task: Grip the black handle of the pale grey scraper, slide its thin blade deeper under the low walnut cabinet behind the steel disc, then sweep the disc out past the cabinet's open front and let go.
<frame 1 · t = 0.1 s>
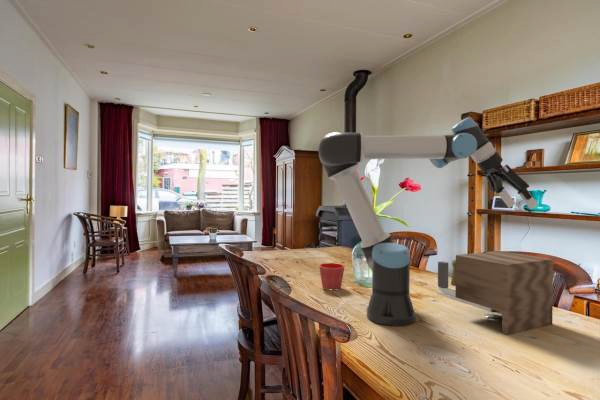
hand: (522, 206, 125), 36 cm above the table, tool tilted 35°, fingers open, 13 cm apart
flower pot: (331, 288, 152), on the table
walnut cabinet: (502, 319, 114), on the table
cork: (458, 285, 158), on the table
scraper: (464, 301, 133), on the table
steel disc: (493, 319, 115), on the table
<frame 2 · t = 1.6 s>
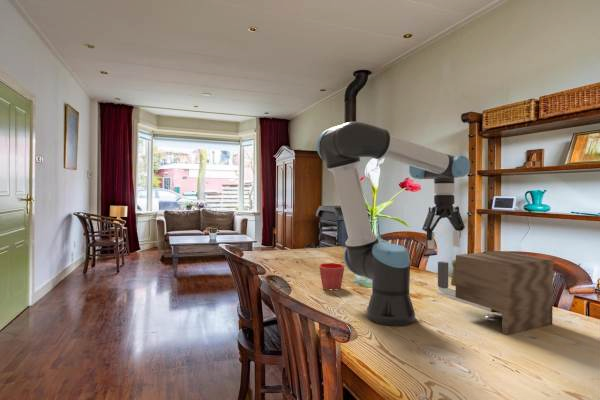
hand: (443, 247, 142), 19 cm above the table, tool pointing down, fingers open, 13 cm apart
nothing on the table moved.
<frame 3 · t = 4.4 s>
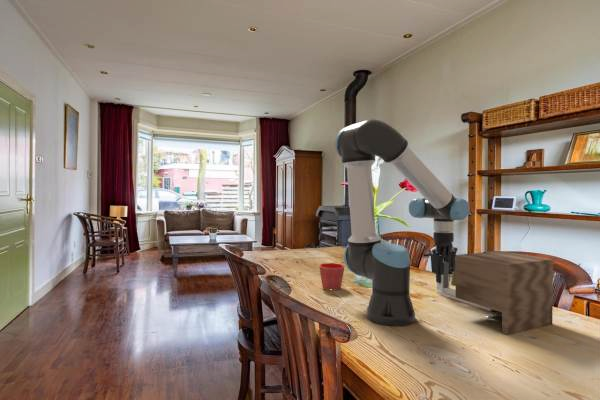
hand: (443, 290, 143), 2 cm above the table, tool pointing down, fingers closed on scraper, 2 cm apart
scraper: (464, 301, 133), on the table, touching gripper
everything else where it was.
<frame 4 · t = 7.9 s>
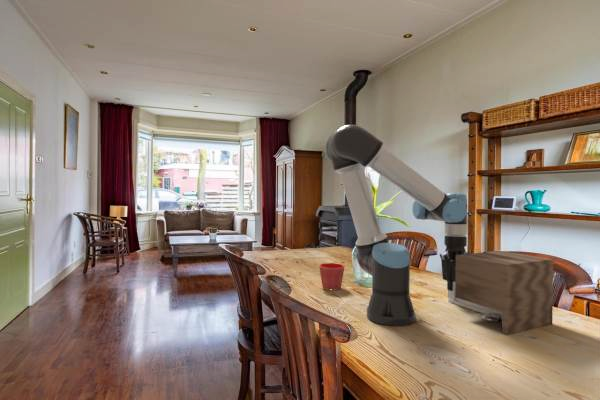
hand: (454, 298, 132), 1 cm above the table, tool pointing down, fingers closed on scraper, 2 cm apart
scraper: (479, 310, 122), on the table, touching gripper
steel disc: (490, 319, 114), on the table
everything else where it was.
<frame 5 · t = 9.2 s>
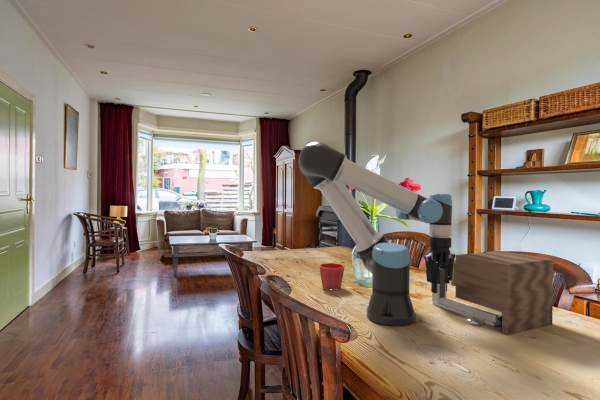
hand: (439, 301, 129), 1 cm above the table, tool pointing down, fingers closed on scraper, 2 cm apart
scraper: (463, 313, 119), on the table, touching gripper
steel disc: (474, 322, 111), on the table
everything else where it was.
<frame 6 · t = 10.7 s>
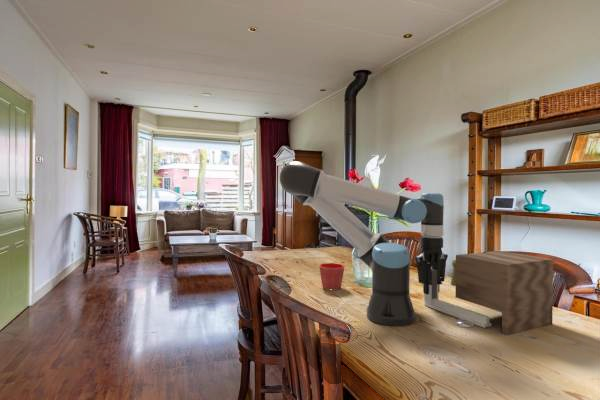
hand: (431, 302, 127), 1 cm above the table, tool pointing down, fingers closed on scraper, 2 cm apart
scraper: (455, 314, 118), on the table, touching gripper, steel disc
steel disc: (464, 325, 109), on the table, touching scraper
everything else where it was.
when the fingers open (1 cm above the table, at t = 11.4 s): scraper stays where it is, on the table.
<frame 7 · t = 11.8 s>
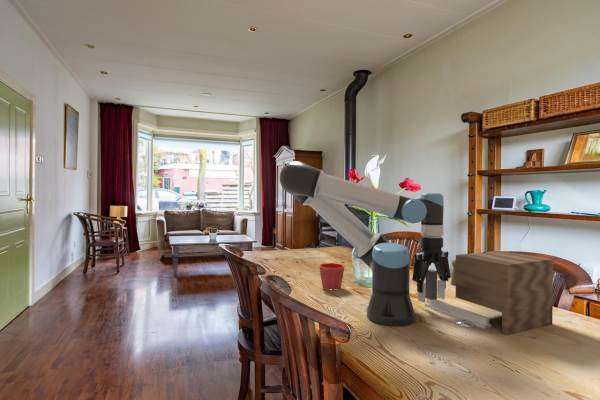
hand: (431, 299, 127), 2 cm above the table, tool pointing down, fingers open, 8 cm apart
scraper: (455, 315, 118), on the table
steel disc: (464, 325, 109), on the table
everything else where it was.
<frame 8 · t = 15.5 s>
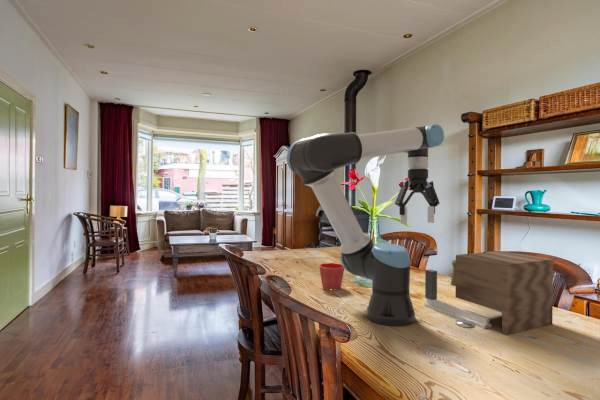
hand: (417, 223, 139), 29 cm above the table, tool pointing down, fingers open, 13 cm apart
nothing on the table moved.
at the end: steel disc inside the target area (4.9 cm from its centre), on the table; the gripper is holding nothing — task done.
